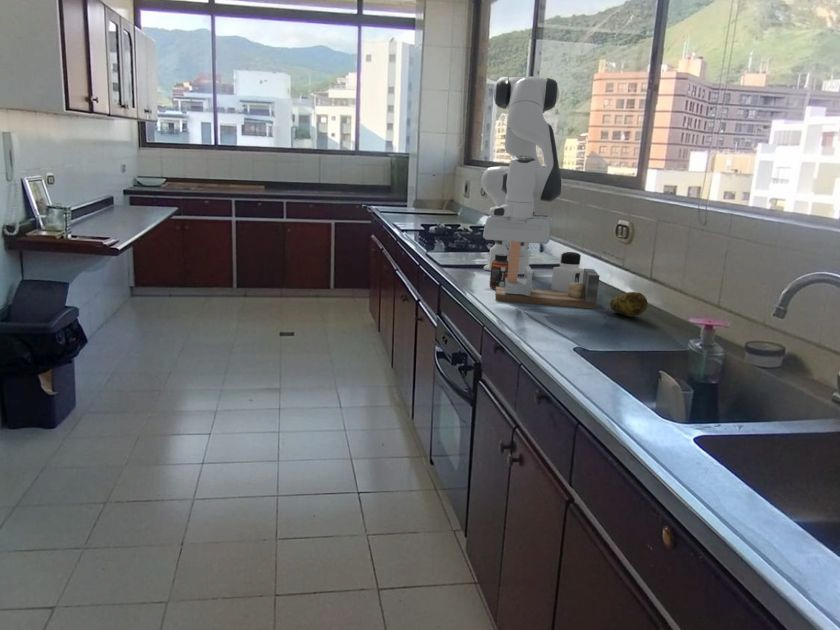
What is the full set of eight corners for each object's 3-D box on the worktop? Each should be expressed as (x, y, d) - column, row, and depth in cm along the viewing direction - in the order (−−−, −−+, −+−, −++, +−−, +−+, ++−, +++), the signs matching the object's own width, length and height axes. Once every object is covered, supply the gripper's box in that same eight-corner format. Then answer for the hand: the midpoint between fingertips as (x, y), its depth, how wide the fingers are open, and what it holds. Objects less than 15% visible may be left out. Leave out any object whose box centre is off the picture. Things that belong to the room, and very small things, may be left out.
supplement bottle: (506, 290, 221) (509, 256, 218) (488, 288, 222) (491, 254, 219) (507, 287, 227) (511, 254, 224) (490, 285, 228) (493, 252, 225)
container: (582, 291, 228) (587, 253, 224) (570, 294, 222) (575, 255, 219) (562, 287, 233) (566, 250, 229) (550, 289, 227) (554, 251, 224)
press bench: (495, 292, 217) (498, 261, 214) (589, 300, 214) (593, 269, 212) (495, 300, 205) (498, 268, 203) (595, 308, 203) (599, 275, 200)
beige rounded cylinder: (567, 294, 211) (568, 282, 210) (581, 295, 210) (583, 283, 209) (568, 297, 206) (570, 284, 205) (583, 298, 206) (585, 285, 205)
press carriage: (504, 286, 216) (509, 233, 212) (528, 288, 215) (533, 235, 211) (505, 293, 204) (510, 238, 200) (530, 295, 204) (535, 239, 200)
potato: (634, 312, 200) (638, 286, 199) (648, 323, 188) (652, 295, 186) (607, 311, 200) (610, 284, 199) (618, 321, 188) (622, 293, 186)
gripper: (552, 212, 206) (547, 257, 210) (485, 207, 208) (481, 252, 211) (554, 214, 200) (549, 260, 204) (485, 209, 202) (481, 255, 205)
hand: (514, 256), depth 207 cm, fingers closed on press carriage, 3 cm apart
